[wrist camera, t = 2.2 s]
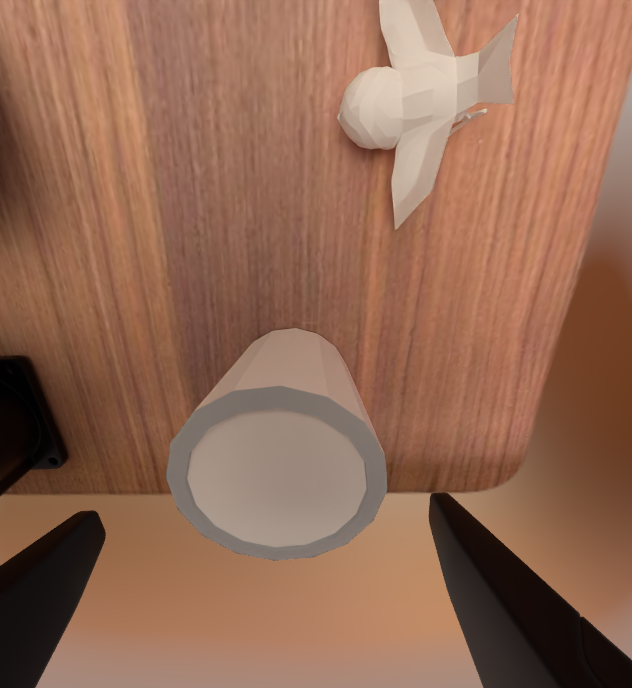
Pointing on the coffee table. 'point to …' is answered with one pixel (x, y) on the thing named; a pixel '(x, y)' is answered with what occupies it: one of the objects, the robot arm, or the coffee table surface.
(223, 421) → the shot glass
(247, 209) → the coffee table surface
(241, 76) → the coffee table surface
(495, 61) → the toy bird
